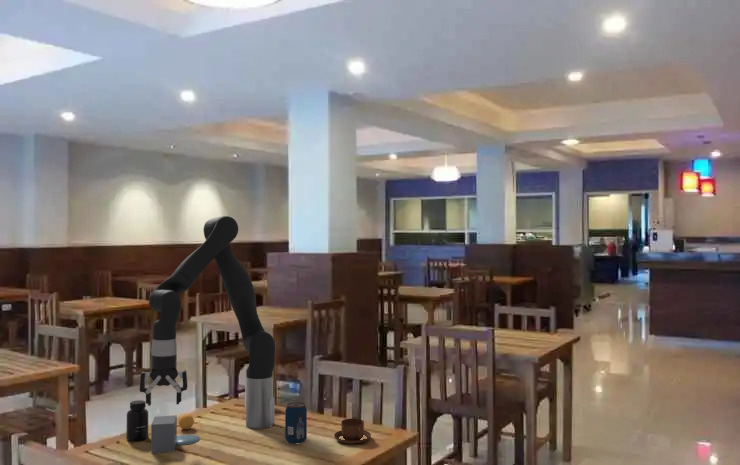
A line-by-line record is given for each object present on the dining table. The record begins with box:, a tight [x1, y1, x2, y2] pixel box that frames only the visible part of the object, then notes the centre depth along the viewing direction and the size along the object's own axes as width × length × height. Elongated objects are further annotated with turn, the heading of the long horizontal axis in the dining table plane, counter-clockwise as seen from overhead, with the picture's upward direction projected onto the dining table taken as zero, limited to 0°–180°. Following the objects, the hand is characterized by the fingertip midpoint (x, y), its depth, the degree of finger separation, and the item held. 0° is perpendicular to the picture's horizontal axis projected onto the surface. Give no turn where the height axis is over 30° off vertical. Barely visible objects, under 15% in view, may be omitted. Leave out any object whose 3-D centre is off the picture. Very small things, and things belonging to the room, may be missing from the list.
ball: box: [178, 413, 195, 430], centre depth 223 cm, size 5×5×5 cm
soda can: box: [284, 401, 308, 445], centre depth 211 cm, size 7×7×12 cm
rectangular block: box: [150, 414, 178, 454], centre depth 204 cm, size 7×9×9 cm
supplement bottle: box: [125, 399, 149, 442], centre depth 213 cm, size 7×7×12 cm
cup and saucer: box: [333, 418, 372, 444], centre depth 212 cm, size 12×12×6 cm
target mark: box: [176, 434, 201, 446], centre depth 212 cm, size 10×10×1 cm
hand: (163, 404), depth 204 cm, fingers open, 8 cm apart
